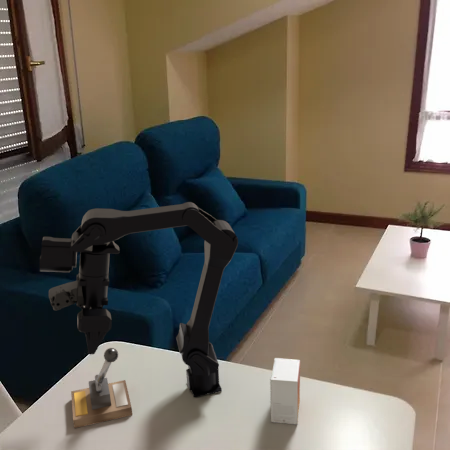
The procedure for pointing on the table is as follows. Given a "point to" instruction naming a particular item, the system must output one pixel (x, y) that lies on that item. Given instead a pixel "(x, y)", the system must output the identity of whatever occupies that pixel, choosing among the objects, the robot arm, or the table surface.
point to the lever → (105, 367)
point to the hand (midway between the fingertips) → (90, 343)
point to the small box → (285, 391)
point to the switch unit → (100, 403)
